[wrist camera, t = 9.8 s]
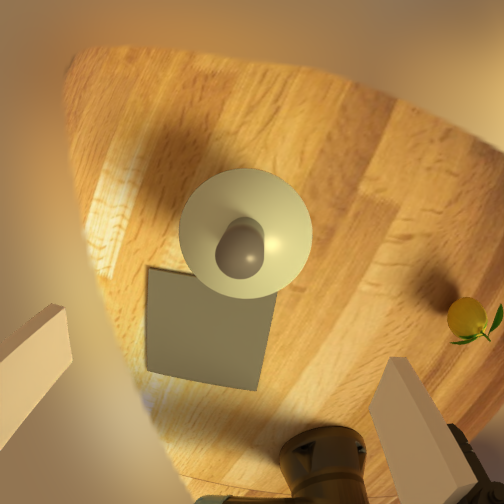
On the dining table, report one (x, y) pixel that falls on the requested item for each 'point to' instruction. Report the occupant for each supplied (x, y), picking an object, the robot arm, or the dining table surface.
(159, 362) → the mat
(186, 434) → the dining table surface
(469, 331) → the lemon
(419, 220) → the dining table surface
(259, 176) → the lid
